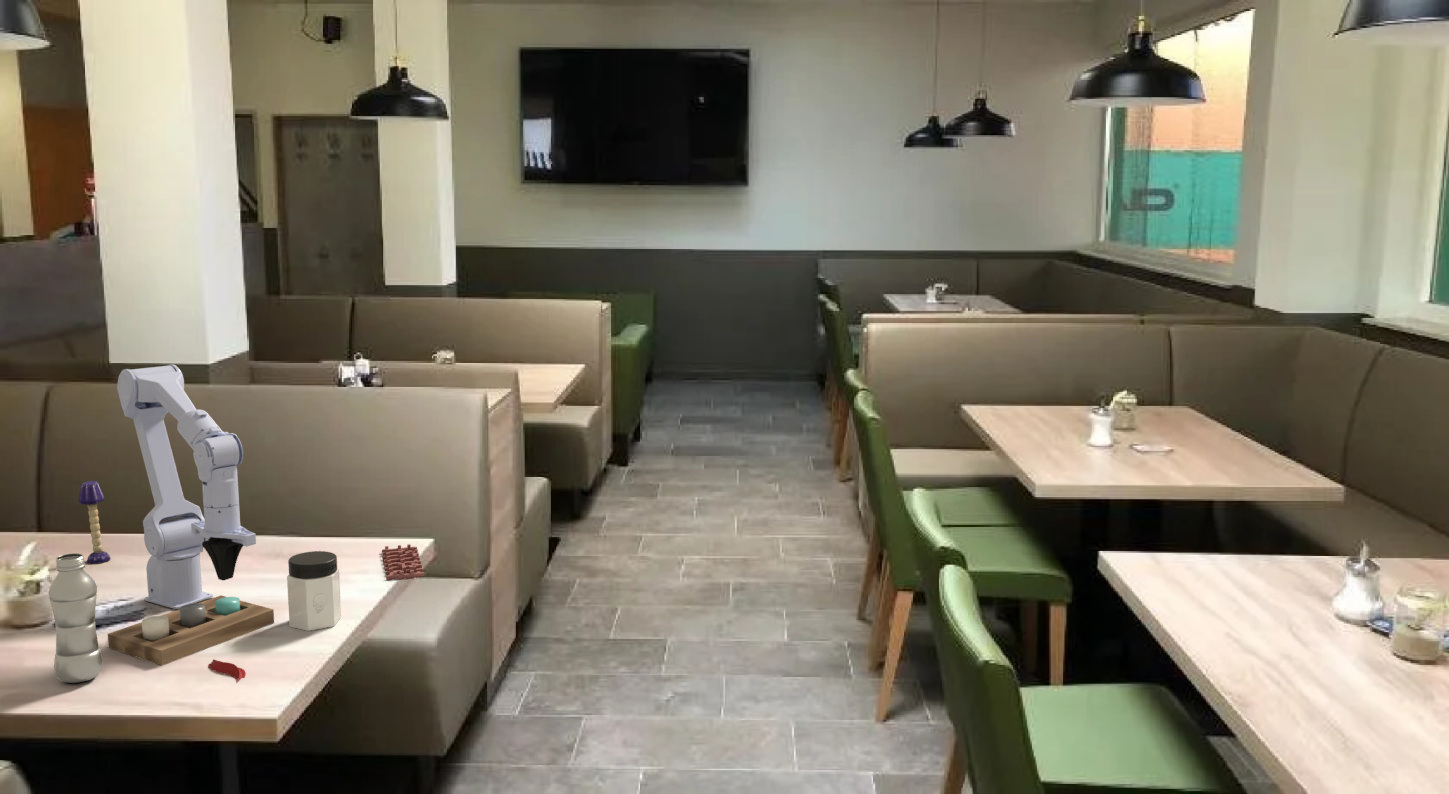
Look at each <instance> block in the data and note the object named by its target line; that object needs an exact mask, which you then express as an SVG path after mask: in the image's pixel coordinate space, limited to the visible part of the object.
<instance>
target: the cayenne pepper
mask: <svg viewBox="0 0 1449 794" xmlns="http://www.w3.org/2000/svg"><path fill="white" fill-rule="evenodd" d="M208 667H209V669H210V670H212V671H214V672H216V673H220V674H224V675H228V676H231V677H233V678H234V679H235V680H237V681H236V683H239V682H240V681H241V680H242V679H244V678H246V673H247V672H246V670H245V669H243V668H242V667H238V666H237V665H236V664H234V663H231V662H227V661H226V662H224V661H221V660H216V659H212V662H211V663H208Z"/></svg>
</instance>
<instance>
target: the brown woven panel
mask: <svg viewBox="0 0 1449 794" xmlns="http://www.w3.org/2000/svg"><path fill="white" fill-rule="evenodd" d="M381 555H383V556H382V560H384V561H383V564H384V565H383V567H384V566H385V567H384V572H385V571H386V573H385V578H386V581H392V579H394V580H402V579H403V580H405V581H406V580H408V579H413V578H414V579H415V578H416V579H417V578H424V577H425V571H424V568H423V564H422V561H421V558H420V553H419V551H418V547H417V546H412V545H411V544H410V543H409V544H408V543H407V545H406V546H405V547H402V545H401V544H398V545H397V547H396V548H389V546H388V545H385V546H384V548H383V549H381Z"/></svg>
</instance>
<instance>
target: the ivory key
mask: <svg viewBox="0 0 1449 794" xmlns="http://www.w3.org/2000/svg"><path fill="white" fill-rule="evenodd" d="M141 622H142V632H143V639H144V640H150V641H151V640H159V639H162V638H165V637H168V636H169V620H168V617H166V616H161V615H154V616H149V617H146V618H144V619H142V621H141Z"/></svg>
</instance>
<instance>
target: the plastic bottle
mask: <svg viewBox="0 0 1449 794" xmlns="http://www.w3.org/2000/svg"><path fill="white" fill-rule="evenodd" d="M84 559H85V557H84V554H83V553H79V552H78V553H77V552H75V553H74V552H73V553H66V554H62V555H58V556H57V557H56V558H55V561H56V562H55V563H56V566H55V568H56V571H58V573H57V575H56V576H55V578H54V579H53V581H52V582H51V584H50V586H49V589H48V598H49V601H50V605H51V611H52V613H53V619H54V626H55V634H56V636H55V654H54V660H53V662H54V664H53V669H54V672H55V675H56V678H57V679H58V680H59V681H61V682H62V683H67V684H71V683H72V684H75V683H76V684H77V683H81V682H85V681H89V680H92V679H94V678H96V677H97V676H98V675H99V674H100V672H101V671H102V668H103V661H104V659H103V655H102V651H101V649H100V647H99V640H98V634H97V628H96V607H97V605H96V604H97V596H98V595H97V592H98V586H97V583H96V581H95V579H94V578H93V577H92V576H91V575H90V574H89V573H87V572H86V570H84V568H85V567H86V562H85V560H84Z"/></svg>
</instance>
